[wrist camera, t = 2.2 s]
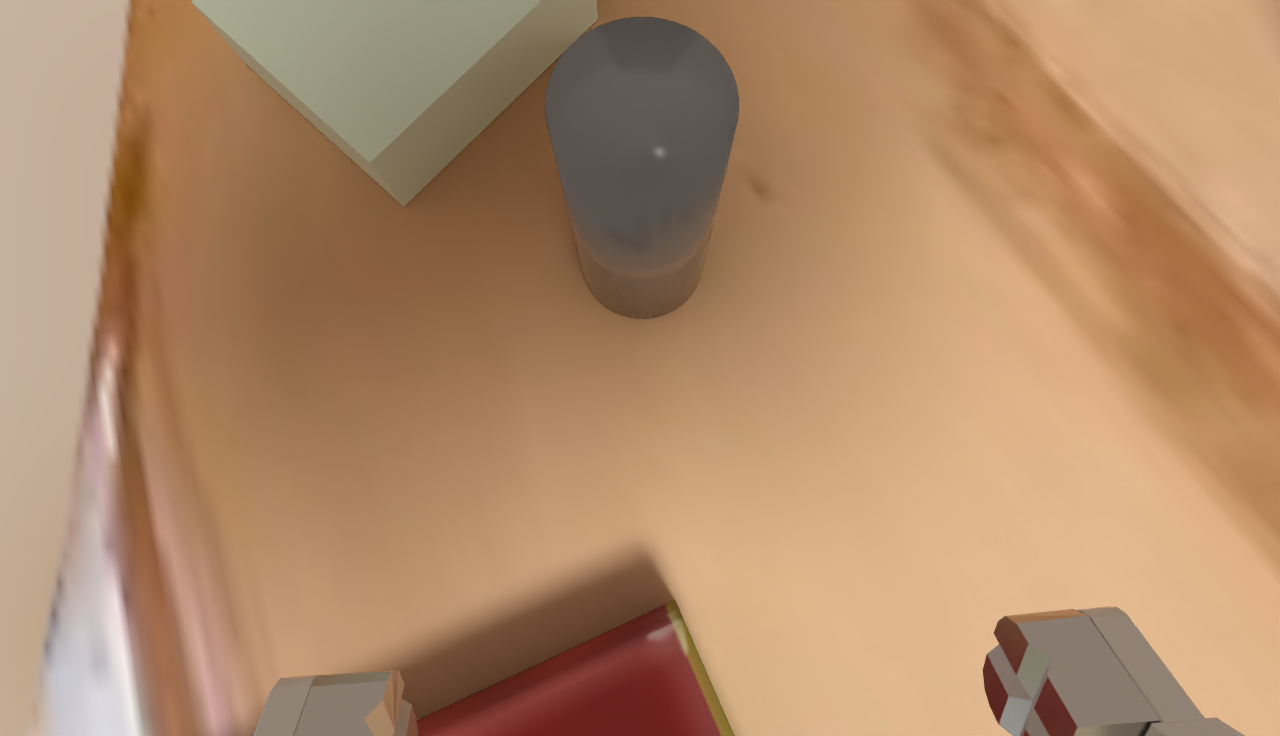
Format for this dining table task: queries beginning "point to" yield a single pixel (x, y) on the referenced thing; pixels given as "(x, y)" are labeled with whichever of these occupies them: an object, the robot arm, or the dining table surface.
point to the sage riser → (399, 69)
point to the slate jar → (641, 157)
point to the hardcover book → (599, 690)
